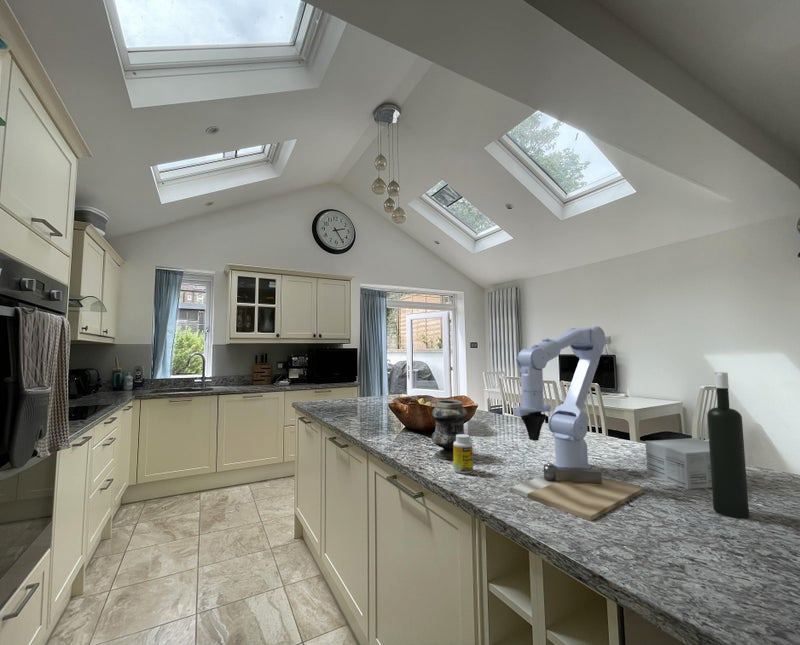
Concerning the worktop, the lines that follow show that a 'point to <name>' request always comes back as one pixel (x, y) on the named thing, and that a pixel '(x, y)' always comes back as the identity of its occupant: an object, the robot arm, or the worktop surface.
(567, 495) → the door board
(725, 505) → the wine bottle
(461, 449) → the supplement bottle
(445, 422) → the dark grey vase
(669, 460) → the supplement box
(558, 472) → the swing bar
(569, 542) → the worktop surface
